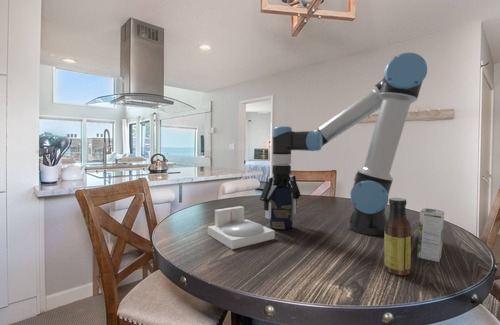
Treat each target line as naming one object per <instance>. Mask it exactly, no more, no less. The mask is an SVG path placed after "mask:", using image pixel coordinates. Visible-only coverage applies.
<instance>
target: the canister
mask: <svg viewBox="0 0 500 325" xmlns="http://www.w3.org/2000/svg"><path fill="white" fill-rule="evenodd" d="M291 187H292V186H291ZM291 187H288V186H286V187H282V188H277V189H275V194H274V195H273V197H272V198H271V200H270V202H271V219H269V226H270V227H271V229H272V228H273V229H274V230H275V229H276V230H288V229H291V228H292V227H293V218H294V217H293V215H294V214H293V189H292V188H291Z"/></svg>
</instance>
